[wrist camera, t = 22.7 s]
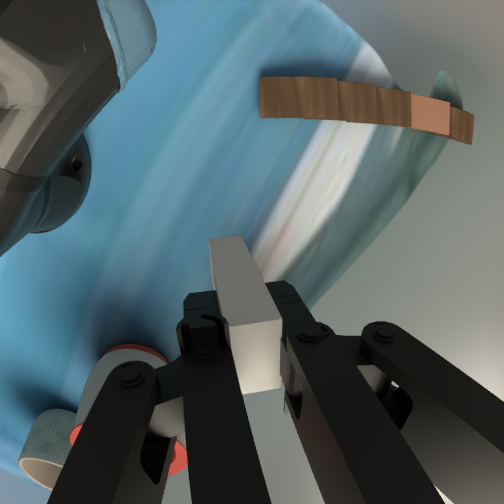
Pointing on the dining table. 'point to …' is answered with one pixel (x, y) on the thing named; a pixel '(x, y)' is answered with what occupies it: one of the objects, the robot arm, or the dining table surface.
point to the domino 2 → (355, 102)
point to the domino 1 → (298, 97)
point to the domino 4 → (430, 114)
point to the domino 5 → (460, 126)
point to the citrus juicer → (98, 378)
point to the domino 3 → (392, 108)
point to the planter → (47, 446)
